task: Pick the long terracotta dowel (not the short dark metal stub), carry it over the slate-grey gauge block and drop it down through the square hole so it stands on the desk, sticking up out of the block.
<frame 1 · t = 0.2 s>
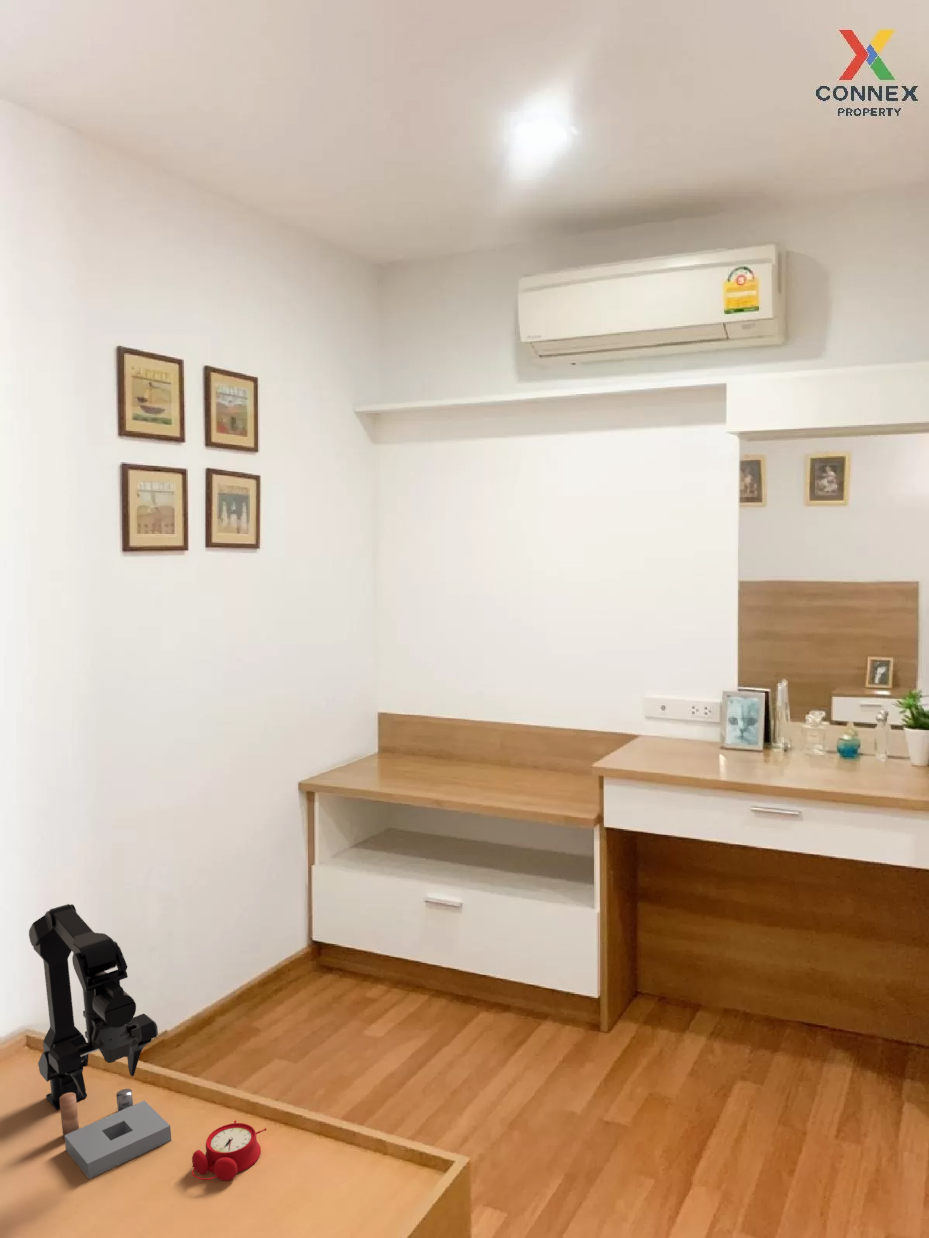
hand: (108, 1085, 189), 14 cm above the worktop, tool pointing down, fingers open, 9 cm apart
short stub: (125, 1111, 205), on the worktop
long dowel: (71, 1135, 198), on the worktop
alarm clock: (227, 1164, 187), on the worktop
gauge block: (118, 1144, 194), on the worktop
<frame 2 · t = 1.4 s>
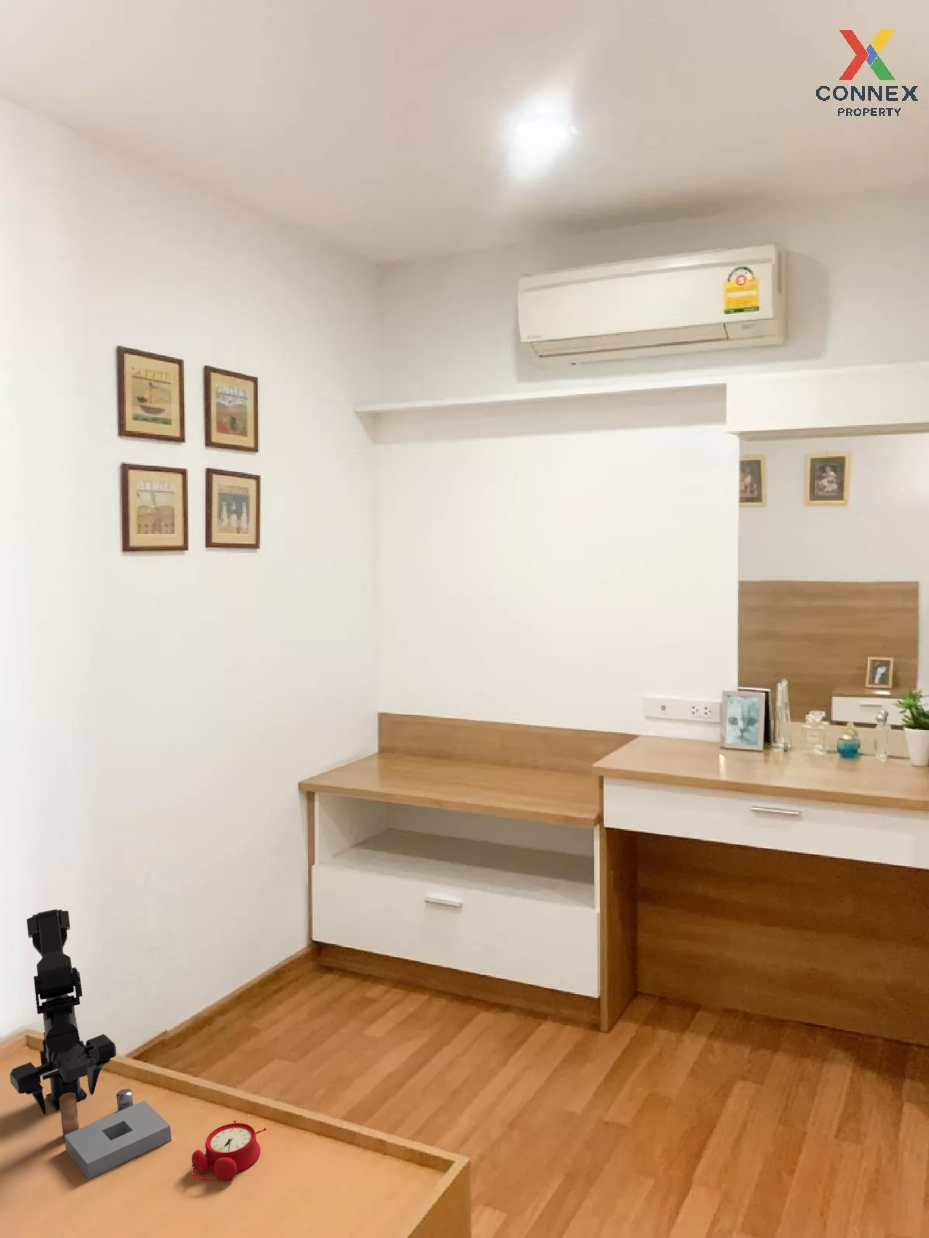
hand: (68, 1103, 197), 6 cm above the worktop, tool pointing down, fingers open, 9 cm apart
nothing on the worktop moved.
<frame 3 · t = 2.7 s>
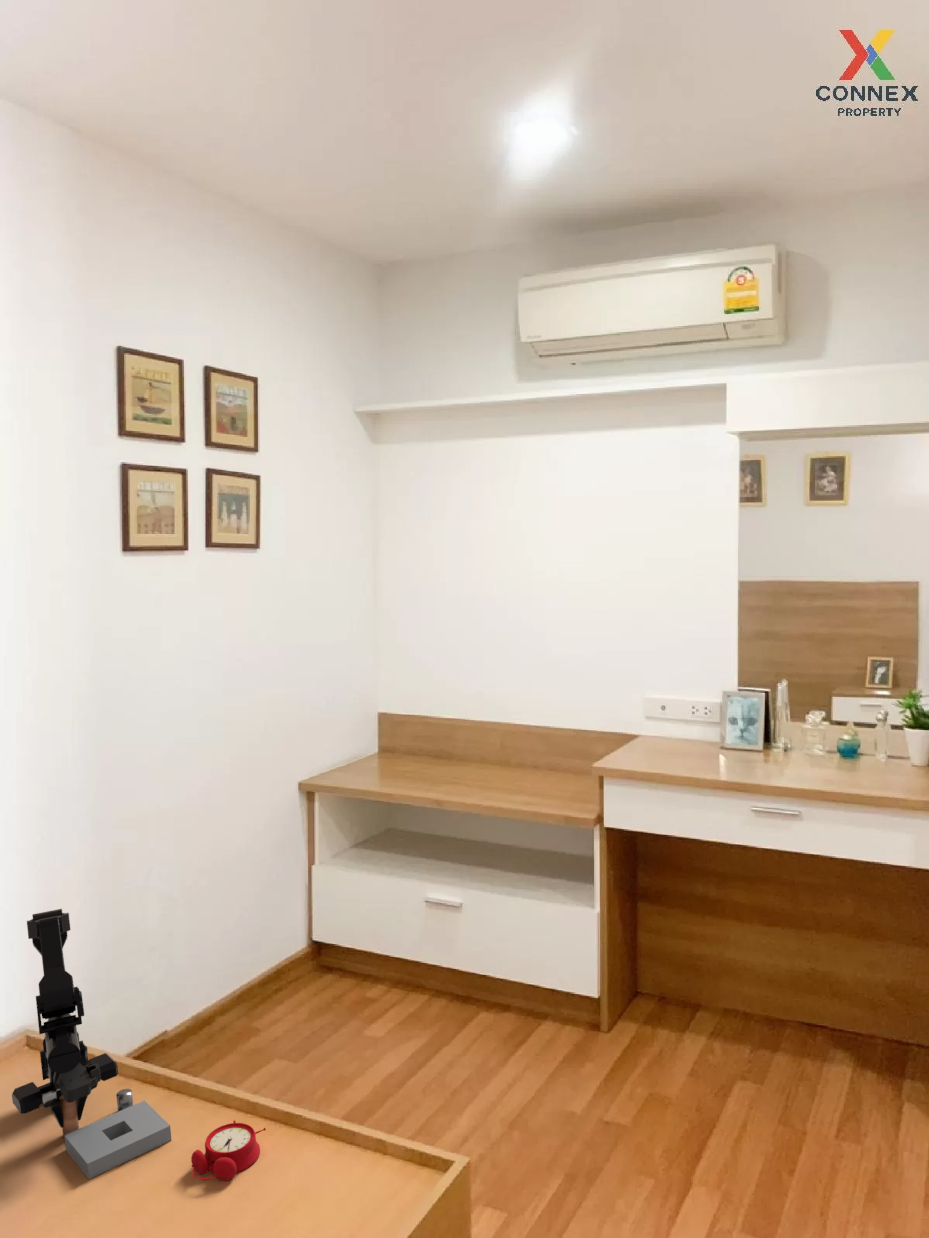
hand: (70, 1122, 198), 3 cm above the worktop, tool pointing down, fingers closed on long dowel, 3 cm apart
long dowel: (71, 1135, 198), on the worktop, touching gripper
everything else where it was.
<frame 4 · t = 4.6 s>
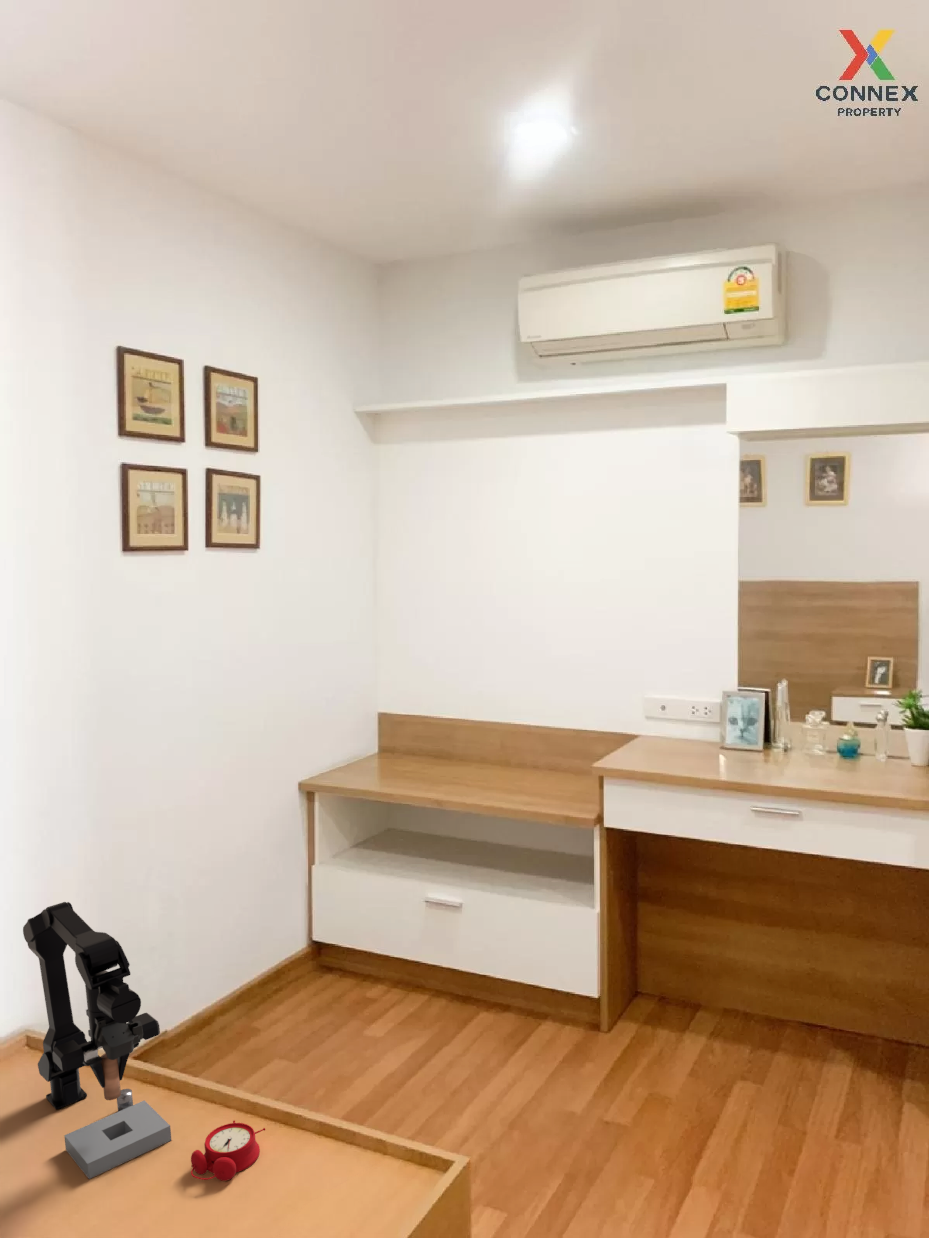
hand: (111, 1082, 192), 13 cm above the worktop, tool pointing down, fingers closed on long dowel, 3 cm apart
long dowel: (112, 1095, 193), point 10 cm above the worktop, touching gripper
everything else where it was.
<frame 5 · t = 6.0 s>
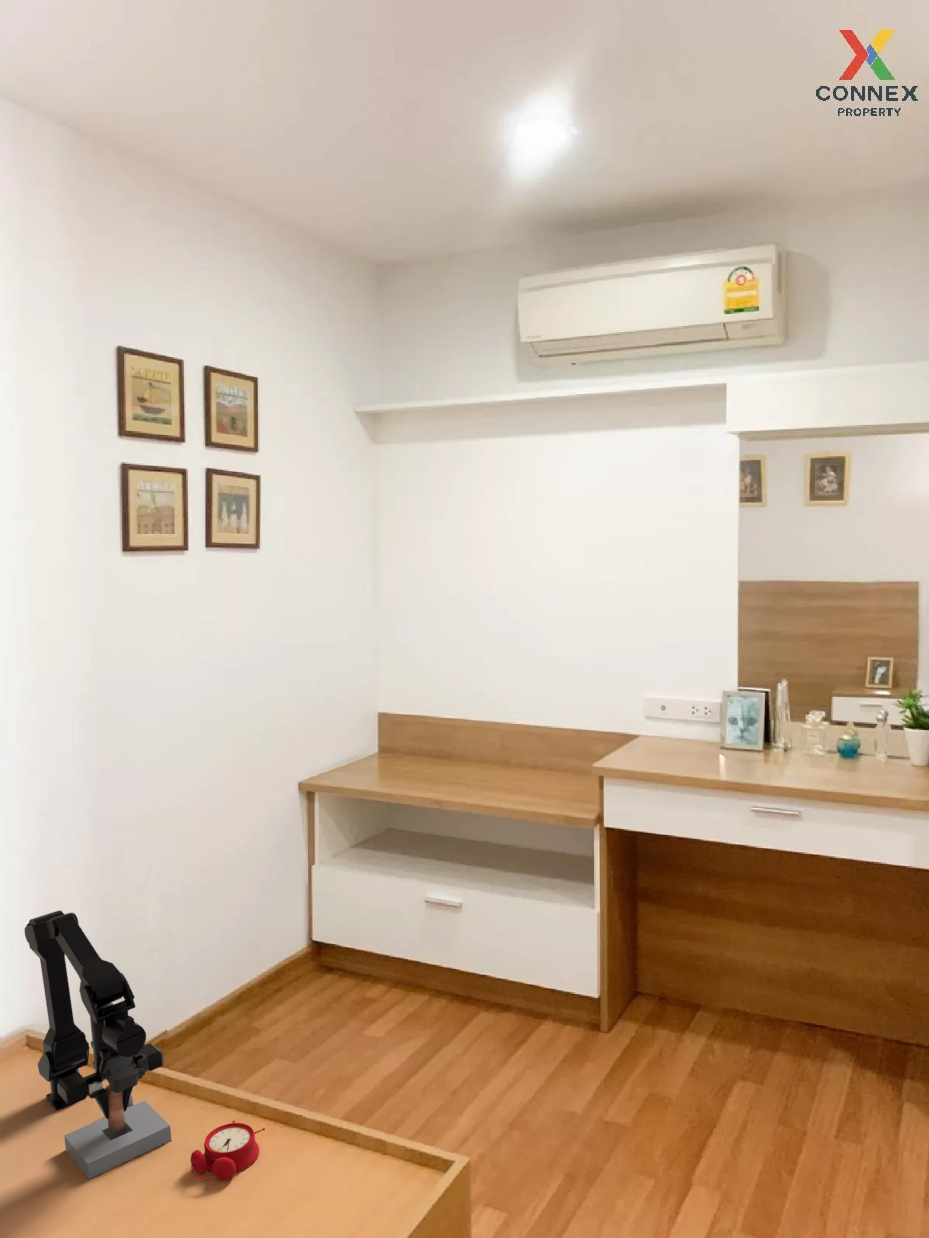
hand: (115, 1114, 193), 6 cm above the worktop, tool pointing down, fingers closed on long dowel, 3 cm apart
long dowel: (116, 1126, 193), point 4 cm above the worktop, touching gripper
everything else where it was.
when the fingers open (4 cm above the worktop, at t = 6.8 s): long dowel drops 2 cm, resting in gauge block.
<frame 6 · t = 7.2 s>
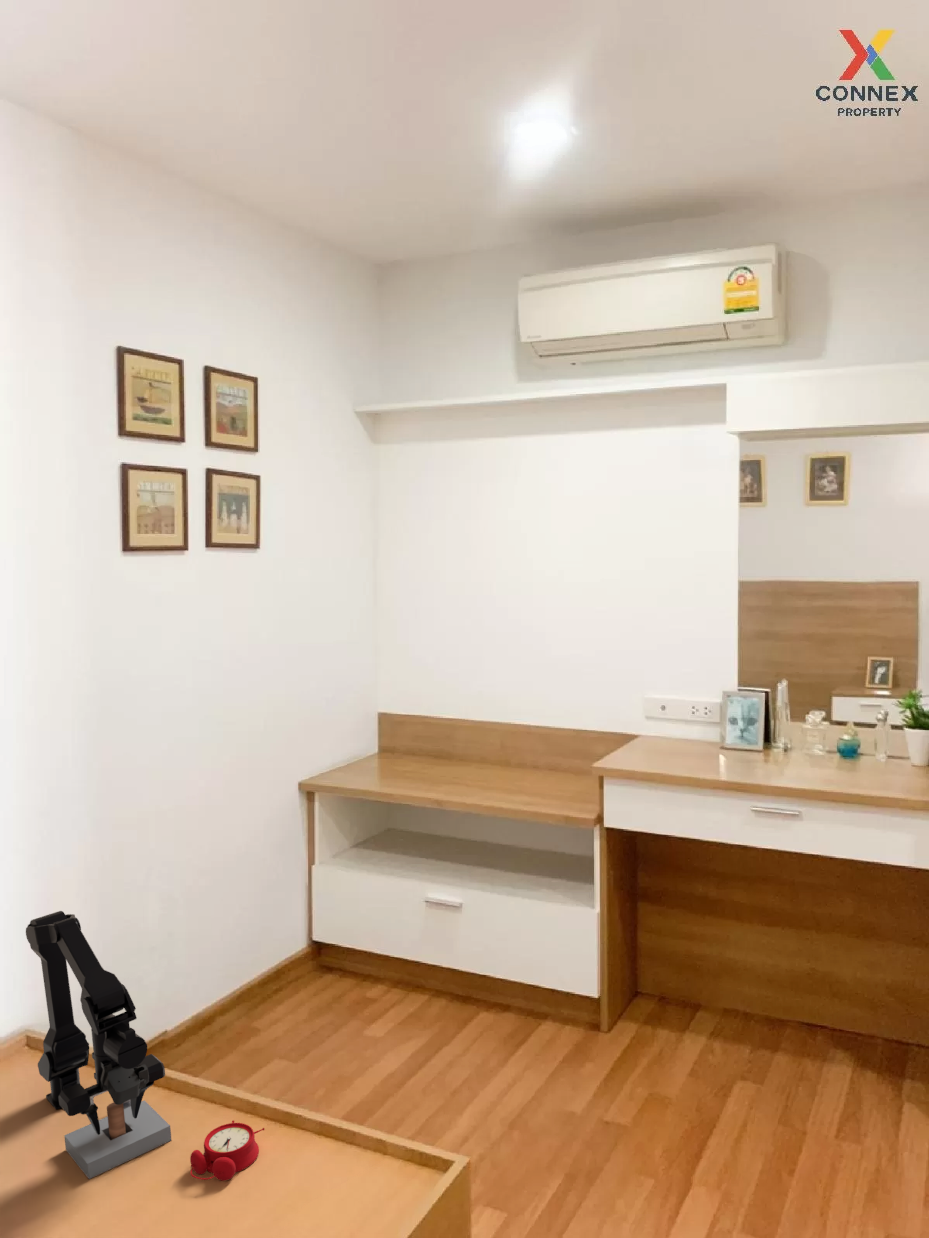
hand: (116, 1125, 193), 4 cm above the worktop, tool pointing down, fingers open, 7 cm apart
long dowel: (118, 1144, 194), resting in gauge block
everything else where it was.
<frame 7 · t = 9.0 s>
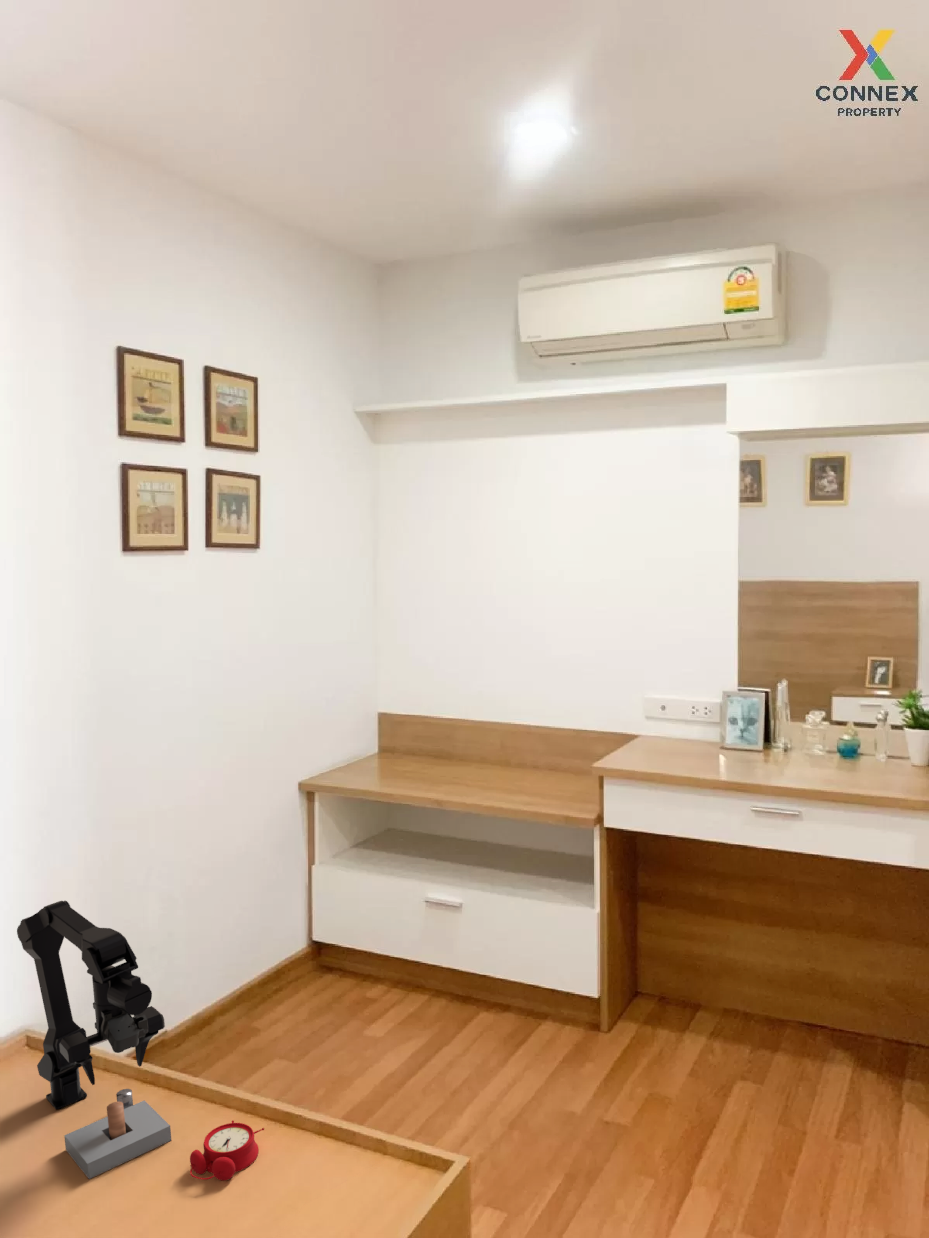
hand: (116, 1074, 196), 12 cm above the worktop, tool pointing down, fingers open, 9 cm apart
nothing on the worktop moved.
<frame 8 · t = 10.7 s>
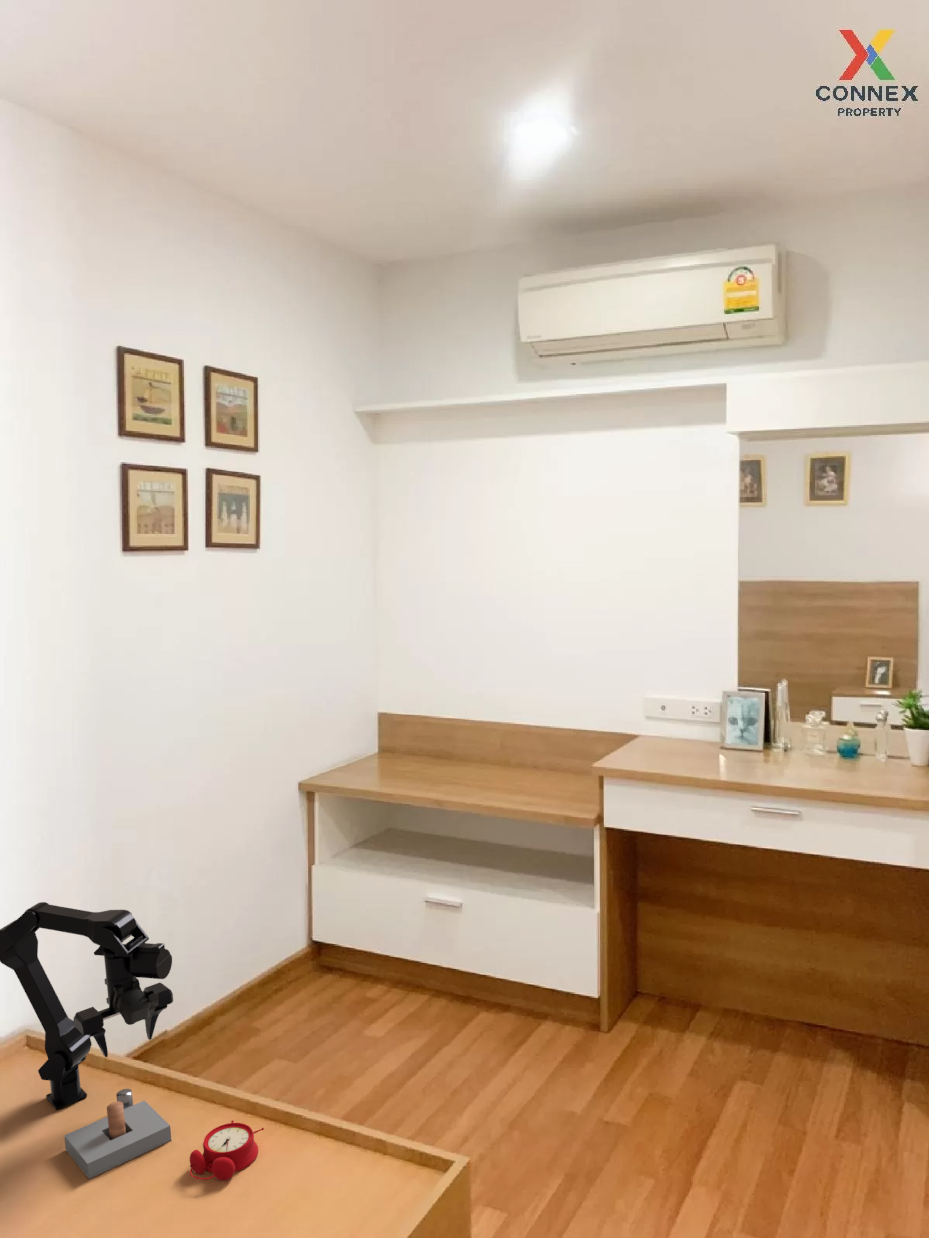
hand: (128, 1047, 206), 13 cm above the worktop, tool pointing down, fingers open, 9 cm apart
nothing on the worktop moved.
at the end: long dowel 0.0 cm off-centre on the gauge block, point 0.0 cm above the gauge block's base; long dowel tilted 0°; short stub moved 0.0 cm from its start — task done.
